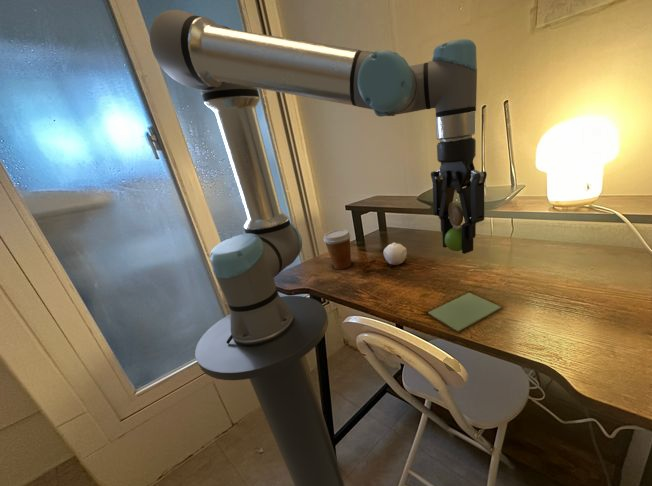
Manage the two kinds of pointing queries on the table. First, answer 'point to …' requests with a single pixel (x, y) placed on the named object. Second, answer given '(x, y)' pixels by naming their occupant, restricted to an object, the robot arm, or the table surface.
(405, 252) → the garlic bulb
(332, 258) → the disposable coffee cup
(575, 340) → the table surface
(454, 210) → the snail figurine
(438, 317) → the edge mat
